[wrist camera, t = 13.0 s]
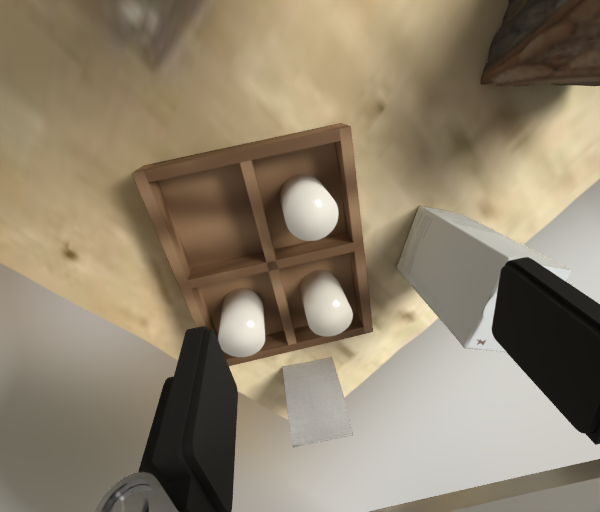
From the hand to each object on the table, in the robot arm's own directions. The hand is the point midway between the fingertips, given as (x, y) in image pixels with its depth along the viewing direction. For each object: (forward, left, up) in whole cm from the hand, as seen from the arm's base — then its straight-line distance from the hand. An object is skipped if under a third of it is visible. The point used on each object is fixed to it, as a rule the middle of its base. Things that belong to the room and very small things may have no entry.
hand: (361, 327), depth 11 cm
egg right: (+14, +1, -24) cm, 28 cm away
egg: (+14, -8, -24) cm, 29 cm away
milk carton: (+27, -3, -25) cm, 37 cm away
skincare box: (+11, +14, -25) cm, 31 cm away
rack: (+8, -4, -25) cm, 26 cm away
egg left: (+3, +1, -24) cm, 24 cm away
